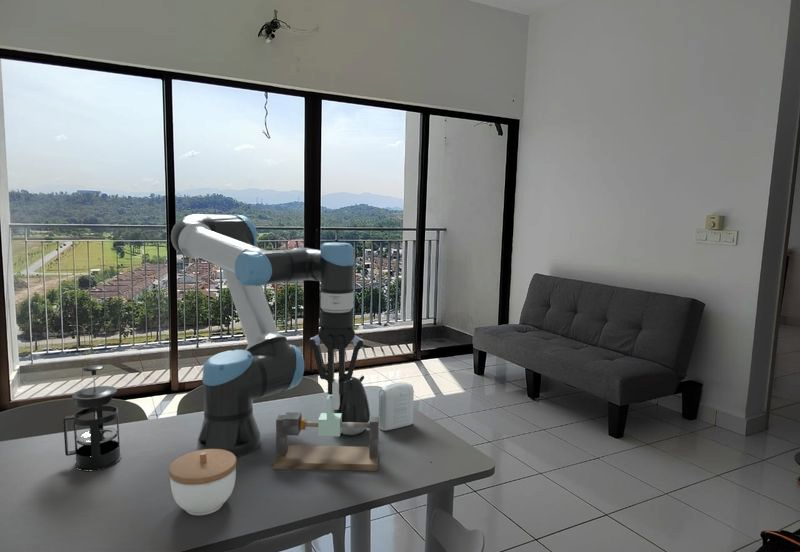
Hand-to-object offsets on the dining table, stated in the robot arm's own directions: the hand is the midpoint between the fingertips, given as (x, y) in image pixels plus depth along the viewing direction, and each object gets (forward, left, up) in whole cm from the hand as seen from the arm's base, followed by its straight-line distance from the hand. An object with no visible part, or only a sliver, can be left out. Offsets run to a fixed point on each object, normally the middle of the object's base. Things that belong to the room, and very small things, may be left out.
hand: (336, 407), depth 123 cm
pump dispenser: (+2, +17, -13) cm, 22 cm away
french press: (-56, -3, -13) cm, 58 cm away
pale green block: (-1, 0, -6) cm, 6 cm away
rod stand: (-2, 0, -13) cm, 13 cm away
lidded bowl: (-24, -20, -13) cm, 34 cm away
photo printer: (+14, +21, -14) cm, 29 cm away
